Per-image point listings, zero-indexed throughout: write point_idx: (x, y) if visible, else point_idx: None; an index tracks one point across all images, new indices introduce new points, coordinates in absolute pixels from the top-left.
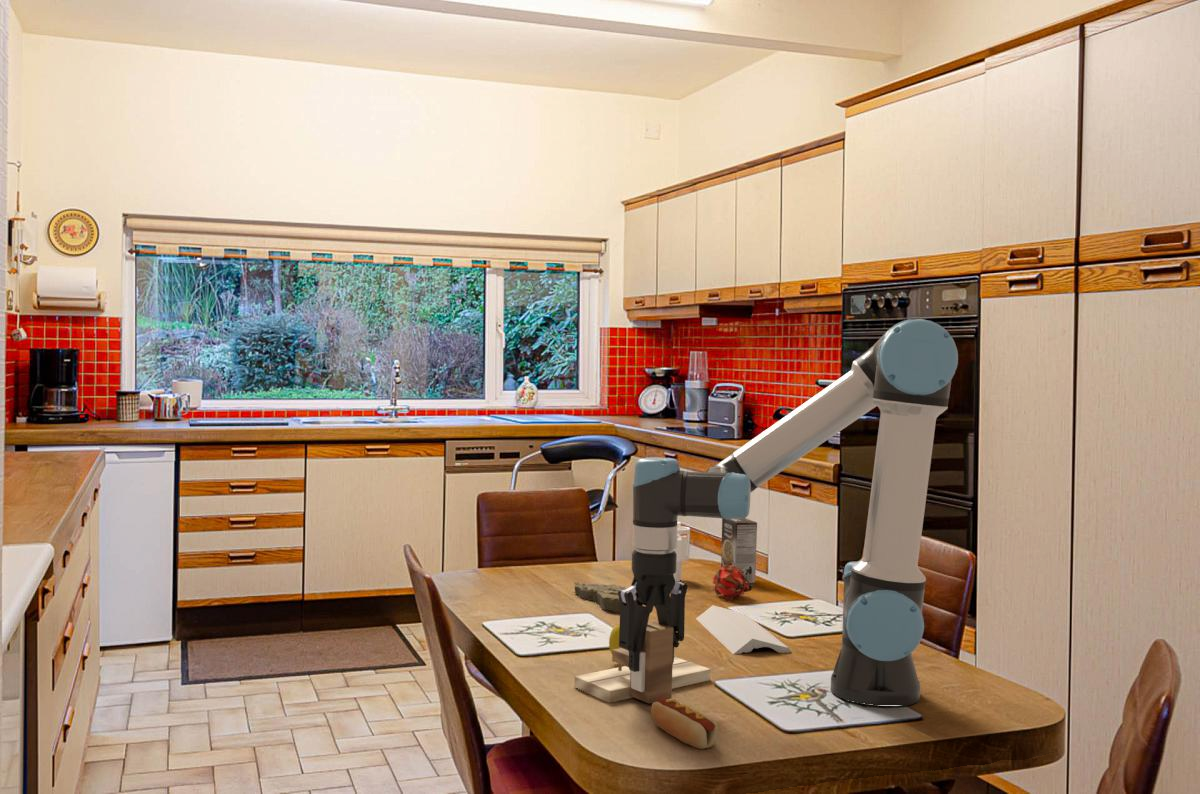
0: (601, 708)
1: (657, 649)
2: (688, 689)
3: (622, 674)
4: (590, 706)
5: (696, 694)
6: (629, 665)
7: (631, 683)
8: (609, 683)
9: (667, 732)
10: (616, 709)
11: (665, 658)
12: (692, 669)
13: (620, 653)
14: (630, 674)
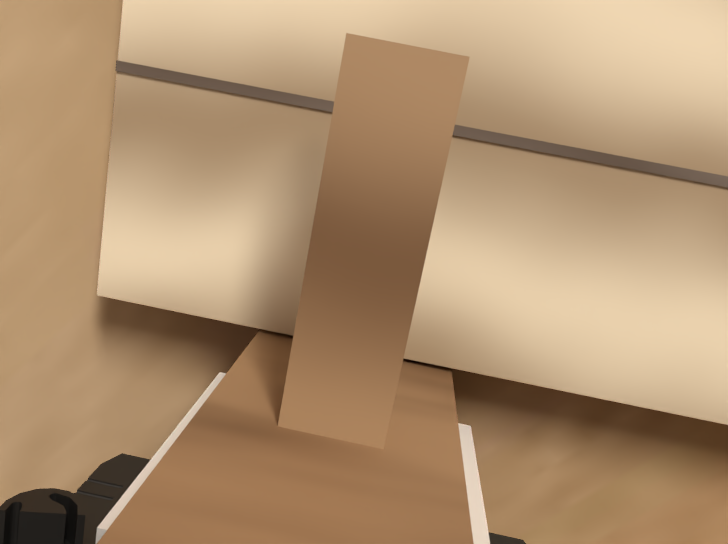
0: (35, 302)
1: None
2: (674, 449)
3: None
4: (9, 236)
5: (620, 530)
6: (93, 481)
7: (209, 388)
8: (209, 184)
9: None
10: (87, 370)
11: None
12: None
13: (322, 174)
14: (234, 364)
